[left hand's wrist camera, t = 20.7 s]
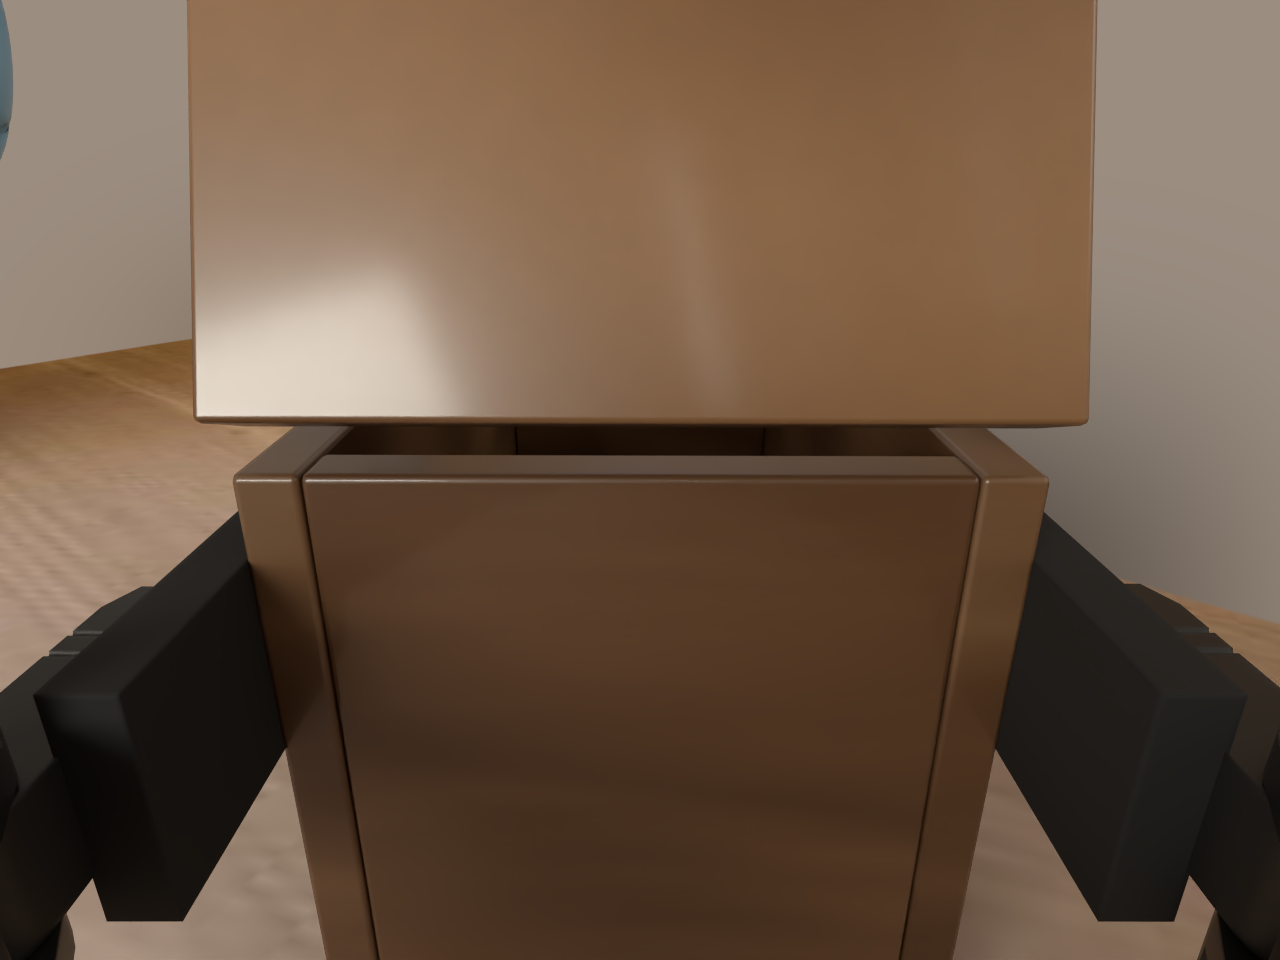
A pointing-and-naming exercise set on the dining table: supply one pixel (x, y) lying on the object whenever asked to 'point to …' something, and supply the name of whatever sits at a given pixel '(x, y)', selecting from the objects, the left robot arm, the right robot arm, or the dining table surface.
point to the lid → (642, 212)
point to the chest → (640, 682)
